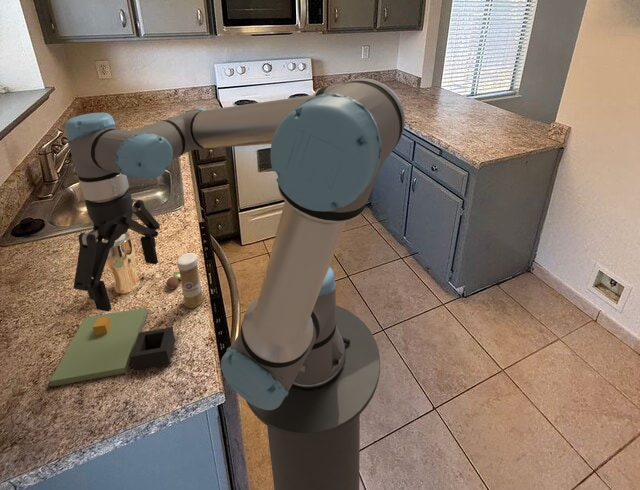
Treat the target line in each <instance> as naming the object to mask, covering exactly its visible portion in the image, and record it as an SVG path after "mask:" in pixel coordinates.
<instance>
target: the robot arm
mask: <svg viewBox="0 0 640 490" xmlns="http://www.w3.org/2000/svg"><path fill="white" fill-rule="evenodd" d="M405 121H406V116H405V111H404V106H403V105H402V102H401V100H400V98H399V96H398V95H397V94H396V93H395V92H394V91H393V89H391V88H390V87H389V86H388V85H386V84H385V83H382V82H380V81H378V80H375V79H371V78H356V79H355V78H354V79H352V80H349V81H346V82H342V83H338V84H333V85H329V86H323V87H319V88H317V89H316V90H315V92H314V94H311V95H305V96H304V95H303V96H297V97H290V98H283V99H277V100H276V99H275V100H267V101H261V102H253V103H247V104H239V105H232V106H225V107H218V108H211V109H208V108H206V107H199V108H195V109H190V110H186V111H185V112H183V113H180V114H176V115H175V116H172V117H170V118H166V119H163V120H159V121H156V122H154V123H151V124H147V125H144V126H141V127H139V128H136V129H131V130H128V129H120V128H117V124H116V122H115V119H114V118H113V116H112V115H111V114H110V113H107V112H93V113H84V114H81V115H78V116H77V115H76V116H74V117H71V118H69V119H68V120H66V122H65V125H64V129H65V134H66V137H67V140H66V143H67V145H68V147H69V151H70V154H71V158H72V161H73V165H74V167H75V171H76V174H77V178H78V182H79V185H80V189H81V193H82V196H83V198H84V199H85V200H84V204H85V208H86V212H87V215H88V217H89V219H90V220H91V221H92V223H93V225H92V226H93V227H92V230H89V232H86V233H84V232H81V233H80V234H79V235H78V243H79V244H78V245H79V250H78V256H77V262H76V268H75V275H74V281H73V289H74V290H78V291H85V292H87V294H88V297H89V300H91V301H94V304H95V305H94V306H95V308H96V310H97V311H103V312H107V313H110V311H111V310H112V305H111V301H110V298H109V294H108V291H107V288H106V284H105V281H104V280H101V279H102V276H103V273H104V270H105V266H106V265H107V264H106V261H107V257H108V254H109V251H110V248H112V247H113V246H114V243H115V240H117V239H119V238H120V237H121V235H123V234H125V233H126V232H128V233H129V230H131V231H133V232H134V233H137V234H139V235H141V236H142V237H140V238H139V239H140V244H141V248H142V252H143V258H144V261H145V264H151V265H157V264H158V263H159V259H158V254H157V251H156V247H157V242H156V238H157V237H158V235H159V231H158V230H160V228H161V224H160V223H159V222H158V221H157V220H156V218H155V217H154V216H153V214H151V212H150V211H149V210H148V209H147V208H146V206H145V203H144V200H143V199H137V198H136V199H135V198H132V193H131V190H130V184H129V180H128V177H129V178H132V179H133V178H134V179H138V178H139V179H145V180H153V179H157V178H159V177H161V176H162V175H164V173H165V172H166V171H167V169H169V168H170V166H171V165H172V162H173V160H174V159H177V158H178V157H181V156H183V155H185V154H188V153H190V152H193V151H196V150H206V149H219V148H220V149H221V148H233V147H234V148H235V147H247V146H264V145H265V146H266V145H270V156H269V157H270V164H271V170H272V172H273V173H274V172H275V173H276V175H277V178H276V179H275V180H276V182H277V189H278V192H279V195H280V197H281V198H282V200H283V201H284V203H283V204H284V205H283V207H282V211H281V213H280V219H279V222H278V225H277V228H276V232H275V233H276V234H275V236H274V240H273V244H272V248H271V252H270V255H269V258H268V261H267V266H266V270H265V273H264V276H263V280H262V283H261V287H260V291H259V295H258V297H257V298H255V299H254V300H253V301H252V302H251V303H250V304H249V305H248V307H247V308H246V310H245V312H244V314H243V317H242V321H241V324H240V329H239V332H238V335H237V336H236V339H235V340H234V342H233V343H232V344H231V345H230V346H228V347H227V348H226V352H225V353H224V354H223V356H222V358H221V360H220V370H221V373H222V375H223V377H224V378H225V381H226V382H227V383H228V385H229V386H230V387H231V389H233V390H234V392H235V393H236V394H238V395H239V396H240V397H241V398H242V399H244V400H245V402H246V401H248V402H249V403H251V404H252V405H254V406H256V407H258V408H261V409H264V410H274V409H276V408H278V407H279V406H280V405H281V403H282V401H283V400H284V398H285V397H286V396H288V393H289V392H288V391H289V389H290V388H291V387H293V388H296V389H299V390H305V391H311V390H317V389H320V388H323V387H325V386H327V385H329V384H330V383H332V382H333V381H334V380H335V379H336V378H337V377H338V376H339V374H340V373H341V371H342V369H343V366H344V362H345V345H344V343H346V344H350V340H349V339H346V338H343V337H342V336H341V334H340V332H339V330H338V328H337V325H336V306H337V301H336V300H337V295H336V291H337V290H336V288H337V282H336V278H335V272H334V270H333V269H332V267H331V266H330V265H331V264H332V261H333V258H334V256H335V253H336V250H337V247H338V244H339V242H340V239H341V238H342V234H343V233H344V229H345V227H346V224H347V222H351V221H353V220H355V219H357V218H359V217H360V216H361V215H362V213H363V212H364V211H365V209H366V205H367V203H368V201H369V199H370V195H371V194H372V191H373V188H374V187H375V183H376V181H377V178H378V176H379V174H380V171H381V169H382V167H383V165H384V163H385V162H386V160H387V159H388V158H389V156H390V155H391V153H392V152H393V150H394V149H396V147H397V146H398V144H399V143H400V141H401V138H402V136H403V134H404V130H405V127H406V126H405V125H406V123H405ZM133 214H134V215H135V216H136V217H137V218H138V219H139V220H140V221H141V222H142V224H141V223H139V222H138V221H136V220H135V219H133ZM104 239H105V240H108V242H107V243H104V242H102V241H103V240H104Z"/></svg>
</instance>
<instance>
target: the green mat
mask: <svg viewBox="0 0 640 490" xmlns="http://www.w3.org/2000/svg"><path fill="white" fill-rule="evenodd" d="M147 316H148V308H147V307H142V308H136V309H130V310H123V311H115V312H109V313H105V314H104V313H103V314H98V315H91V316H86V317H85V316H84V317H83V320H82V321H81V323H80V325H79V327H78V329H77V331H76V332H75V335H74V336H73V338H72V340H71V342H70V343H69V344H68V346H67V348H66V350H65V352H64V354H63V356H62V358H61V360H60V361H59V363H58V365H57V366H56V369H55V370H54V372H53V374H52V376H51V378H50V379H49V385H50V387H57V386H62V385H68V384H73V383H79V382H84V381H89V380H90V381H91V380H94V379H100V378H104V377H111V376H116V375H122V374H126V373H127V371H128V369H129V366H130V363H131V358H130V357H131V354H132V351H133V348H134V345H135V343H136V340H137V337H138V334H139V332H142V329H143V326H144V324H145V320H146V318H147Z"/></svg>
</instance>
